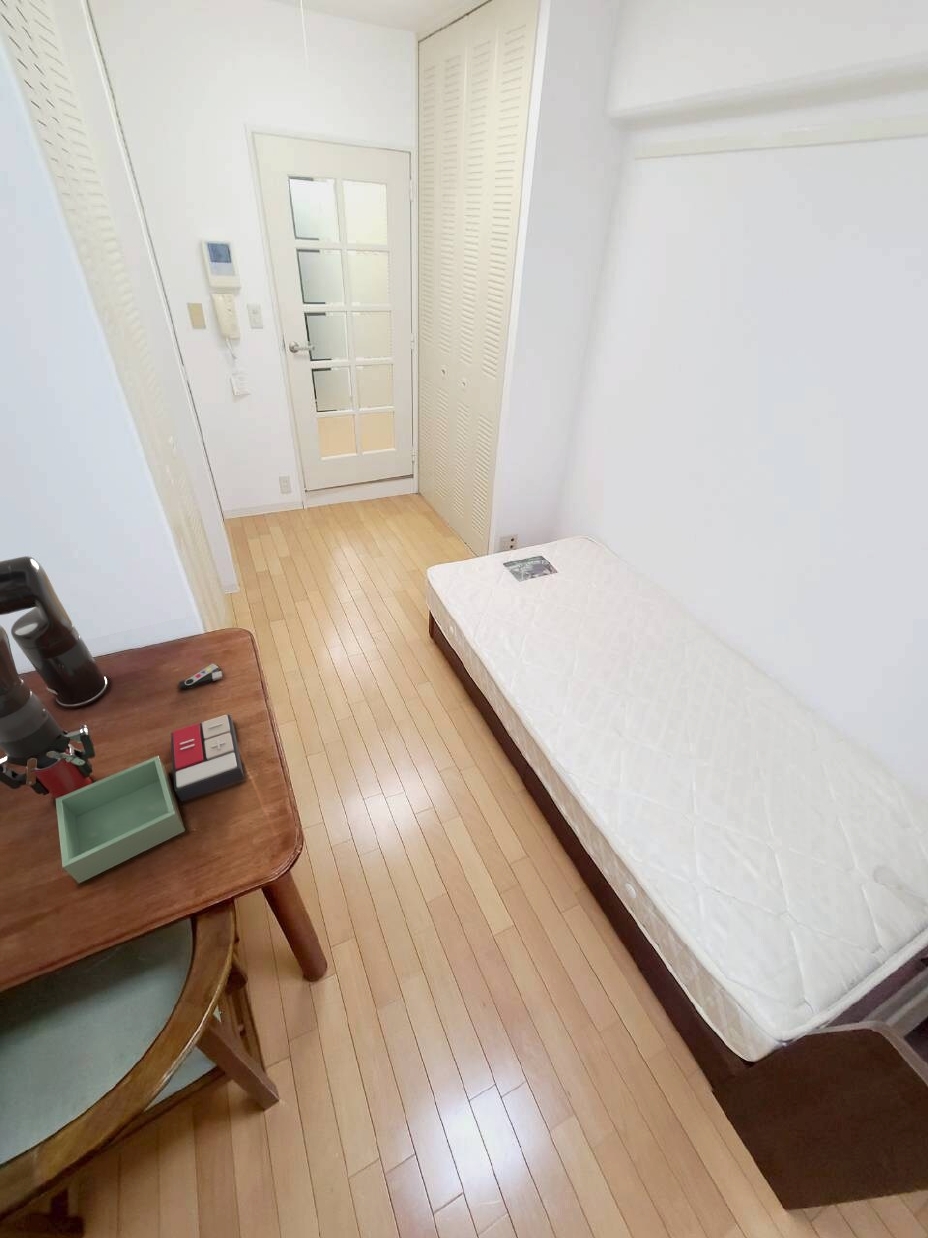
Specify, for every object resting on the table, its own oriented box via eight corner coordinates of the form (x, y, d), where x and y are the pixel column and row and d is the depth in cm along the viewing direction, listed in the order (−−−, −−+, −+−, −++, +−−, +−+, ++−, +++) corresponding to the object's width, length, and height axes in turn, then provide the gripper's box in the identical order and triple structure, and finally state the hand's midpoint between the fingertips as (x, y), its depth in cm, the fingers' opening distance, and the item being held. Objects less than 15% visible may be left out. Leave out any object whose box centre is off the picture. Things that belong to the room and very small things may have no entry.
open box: (71, 817, 88) (55, 799, 84) (169, 774, 96) (158, 755, 92) (80, 885, 80) (62, 867, 76) (186, 832, 87) (174, 814, 83)
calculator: (229, 711, 103) (239, 766, 92) (234, 725, 106) (244, 780, 95) (169, 729, 99) (172, 789, 88) (176, 743, 102) (180, 803, 91)
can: (55, 787, 92) (26, 752, 86) (90, 772, 95) (65, 738, 88) (57, 811, 89) (27, 776, 82) (94, 795, 92) (68, 760, 85)
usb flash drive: (181, 691, 111) (179, 688, 111) (179, 675, 115) (178, 672, 114) (222, 679, 114) (221, 676, 114) (220, 664, 118) (219, 661, 117)
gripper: (70, 688, 85) (110, 749, 96) (-40, 725, 78) (17, 786, 89) (74, 717, 81) (116, 778, 91) (-41, 759, 74) (18, 819, 85)
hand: (67, 782), depth 90 cm, fingers closed on can, 5 cm apart
